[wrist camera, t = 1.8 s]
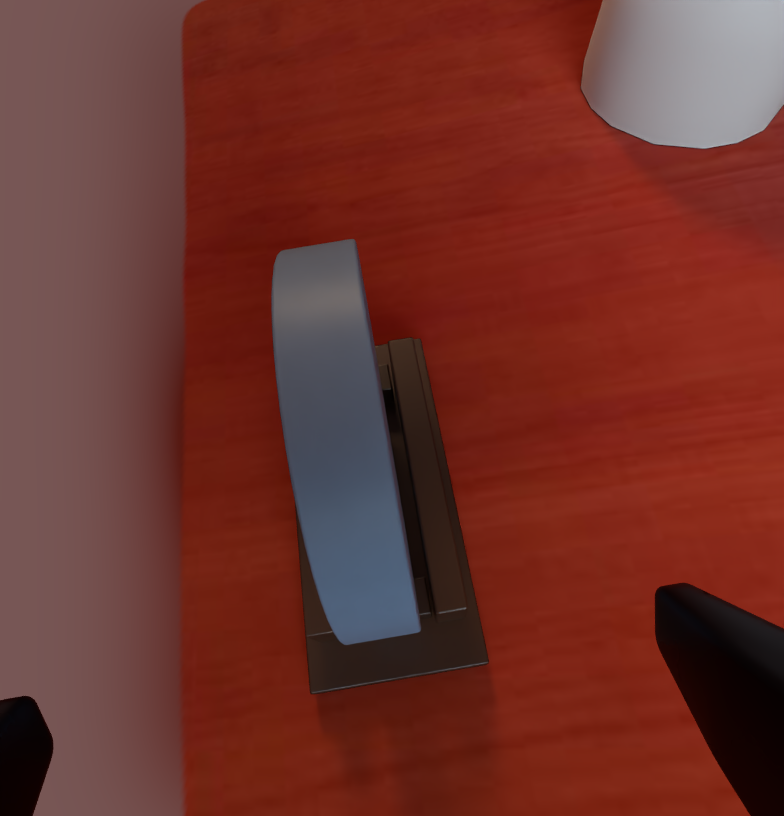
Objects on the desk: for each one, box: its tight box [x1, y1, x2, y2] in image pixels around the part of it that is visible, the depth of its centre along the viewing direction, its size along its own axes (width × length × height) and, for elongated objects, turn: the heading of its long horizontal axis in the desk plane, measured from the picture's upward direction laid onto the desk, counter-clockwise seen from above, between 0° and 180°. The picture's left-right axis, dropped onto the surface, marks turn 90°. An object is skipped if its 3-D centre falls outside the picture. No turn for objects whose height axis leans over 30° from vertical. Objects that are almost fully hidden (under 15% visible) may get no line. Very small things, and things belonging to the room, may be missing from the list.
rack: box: [295, 337, 489, 694], centre depth 21 cm, size 13×6×4 cm, turn 9°
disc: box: [271, 239, 421, 645], centre depth 16 cm, size 11×2×11 cm, turn 9°
